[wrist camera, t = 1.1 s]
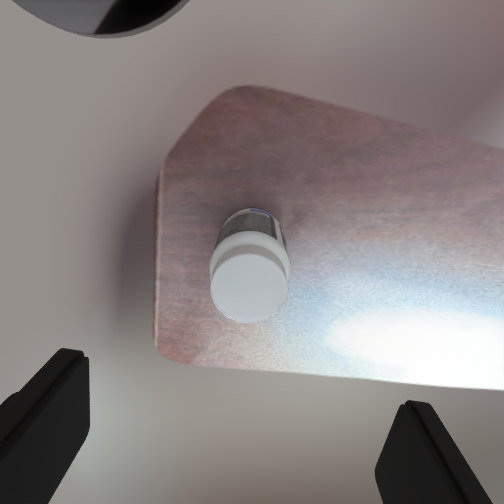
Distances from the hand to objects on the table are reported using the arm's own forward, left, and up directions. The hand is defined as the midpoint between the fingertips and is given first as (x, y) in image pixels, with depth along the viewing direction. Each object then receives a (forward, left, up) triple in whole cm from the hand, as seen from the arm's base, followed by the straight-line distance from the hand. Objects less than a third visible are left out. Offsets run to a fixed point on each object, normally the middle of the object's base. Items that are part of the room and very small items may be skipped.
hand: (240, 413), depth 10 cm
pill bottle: (0, 0, -16) cm, 16 cm away
